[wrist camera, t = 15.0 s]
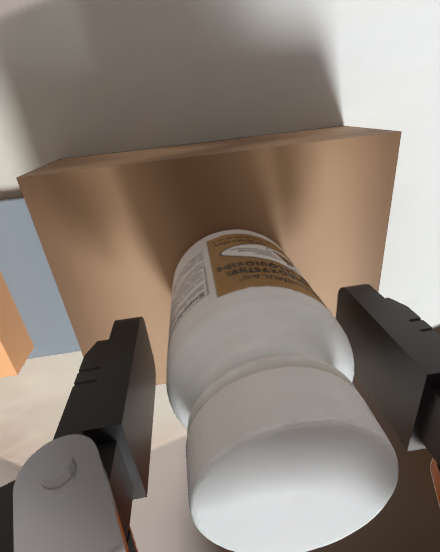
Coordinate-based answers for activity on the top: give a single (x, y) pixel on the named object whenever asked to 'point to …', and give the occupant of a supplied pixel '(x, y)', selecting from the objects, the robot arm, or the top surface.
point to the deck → (209, 218)
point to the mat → (33, 282)
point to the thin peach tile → (12, 335)
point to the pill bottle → (269, 403)
